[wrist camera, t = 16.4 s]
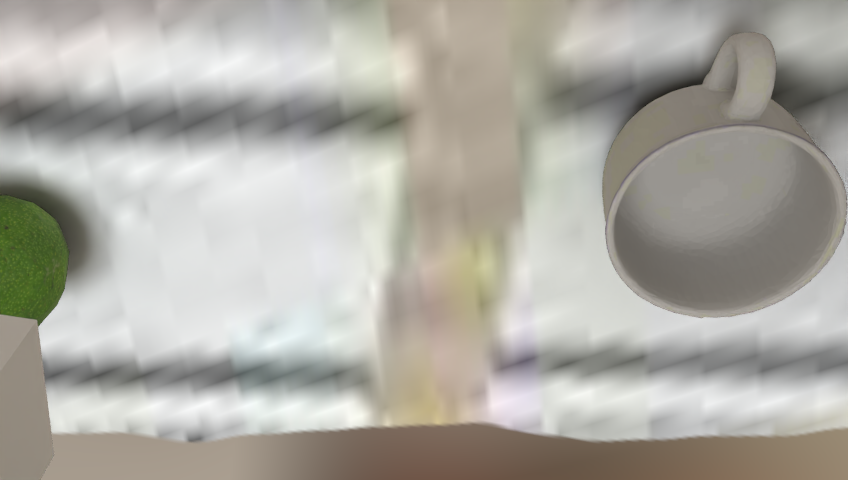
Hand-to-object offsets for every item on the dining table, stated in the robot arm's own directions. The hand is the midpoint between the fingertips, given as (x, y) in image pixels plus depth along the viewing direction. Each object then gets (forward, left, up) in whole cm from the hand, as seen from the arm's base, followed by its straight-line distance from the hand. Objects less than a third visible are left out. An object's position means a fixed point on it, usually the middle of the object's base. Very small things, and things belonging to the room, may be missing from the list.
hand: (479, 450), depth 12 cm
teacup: (-14, +7, -32) cm, 36 cm away
